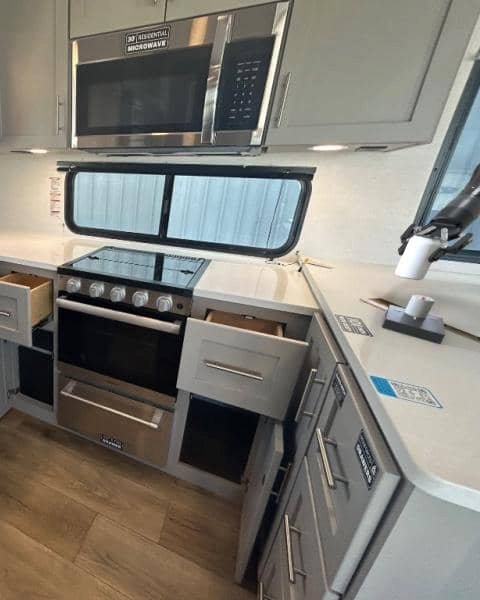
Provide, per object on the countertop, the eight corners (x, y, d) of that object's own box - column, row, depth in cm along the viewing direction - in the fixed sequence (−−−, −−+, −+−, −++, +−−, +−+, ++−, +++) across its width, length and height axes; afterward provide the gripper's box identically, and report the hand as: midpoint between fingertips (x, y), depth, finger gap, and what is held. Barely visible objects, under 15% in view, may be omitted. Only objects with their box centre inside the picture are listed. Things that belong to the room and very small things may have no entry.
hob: (386, 312, 97) (390, 303, 96) (438, 325, 90) (443, 317, 89) (381, 327, 87) (385, 318, 85) (440, 344, 80) (445, 334, 79)
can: (420, 281, 93) (441, 240, 88) (391, 275, 98) (409, 235, 93) (425, 278, 97) (445, 238, 92) (397, 272, 101) (414, 233, 97)
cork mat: (389, 299, 107) (390, 298, 107) (431, 315, 96) (432, 314, 96) (359, 300, 105) (360, 298, 105) (398, 316, 94) (399, 314, 94)
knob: (405, 309, 92) (414, 292, 90) (427, 315, 89) (436, 297, 87) (403, 313, 90) (412, 295, 88) (425, 319, 87) (434, 301, 84)
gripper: (424, 201, 98) (384, 242, 98) (494, 209, 85) (447, 255, 86) (426, 219, 102) (387, 258, 102) (492, 229, 89) (447, 273, 90)
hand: (414, 257), depth 94 cm, fingers closed on can, 6 cm apart
